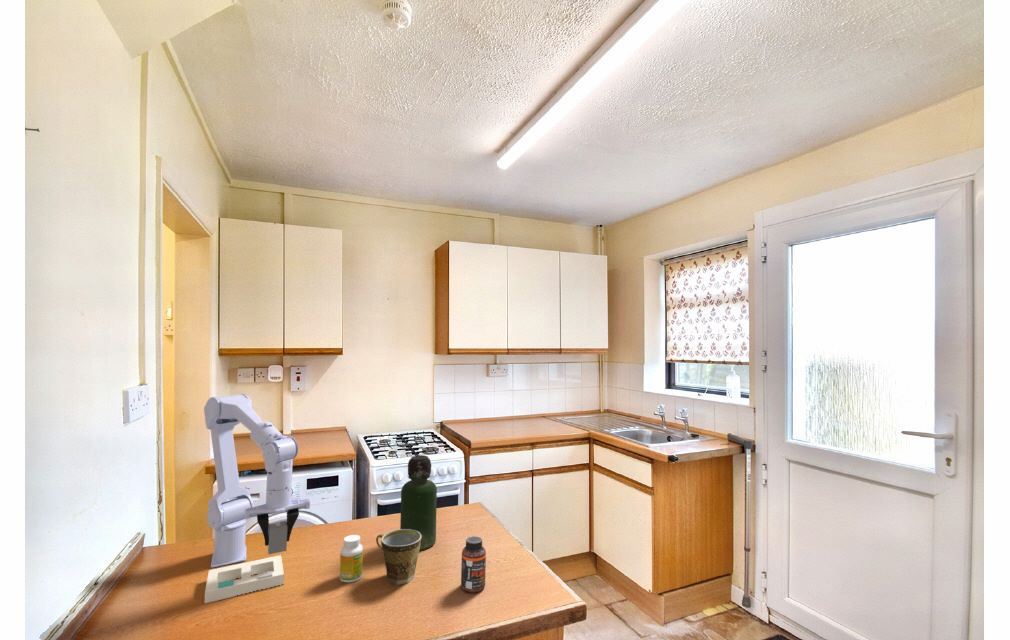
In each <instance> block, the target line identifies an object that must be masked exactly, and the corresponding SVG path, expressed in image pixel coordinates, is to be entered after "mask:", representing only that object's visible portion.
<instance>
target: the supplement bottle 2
mask: <svg viewBox="0 0 1010 640" xmlns="http://www.w3.org/2000/svg"><path fill="white" fill-rule="evenodd" d="M486 554H487V551H486V549H485V547H484V546H483V538H481V537H479V536H468V537H467V538H466V539H465V546H464V547H463V549H461V567H460V569H461V571H460V586H461V589H462V590H463V591H464V592H467V593H472V594H473V593H479V592H481V591H483V590H484V589H485V586H486V580H487V579H486V577H487V576H486V571H487V569H486V568H487V567H486V566H487V555H486Z"/></svg>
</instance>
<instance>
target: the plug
mask: <svg viewBox="0 0 1010 640" xmlns="http://www.w3.org/2000/svg"><path fill="white" fill-rule="evenodd" d="M268 540H269V543H268V545H267V553H268V555H273V554H277V553H282V552H287V551H288V549H287V547H288V546H287V544H288V541H287V520H283V521H281V520H280V521H276V522H275V521H274V522H269V526H268Z"/></svg>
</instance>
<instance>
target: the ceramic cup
mask: <svg viewBox="0 0 1010 640" xmlns="http://www.w3.org/2000/svg"><path fill="white" fill-rule="evenodd" d="M379 538H380V542H379ZM375 543H376V545H377V546H378V547H379V549H380V550H381V551H382V555H383V558H384V563H385V564H384V565H385V570H386V571H385V572H386V578H387V582H388V583H390V584H394V585H397V586H399V585H405V584H408V583H410V582H411V581H412V580H414V578H415V574H416V570H417V569H416V568H417V564H418V557H419V553H420V550H419V549H420V544H421V534H420V533H419V532H418V531H415V530H411V529H395V530H391V531H388V532H387V533H385V534H379V535H377V536H376V539H375Z"/></svg>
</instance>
